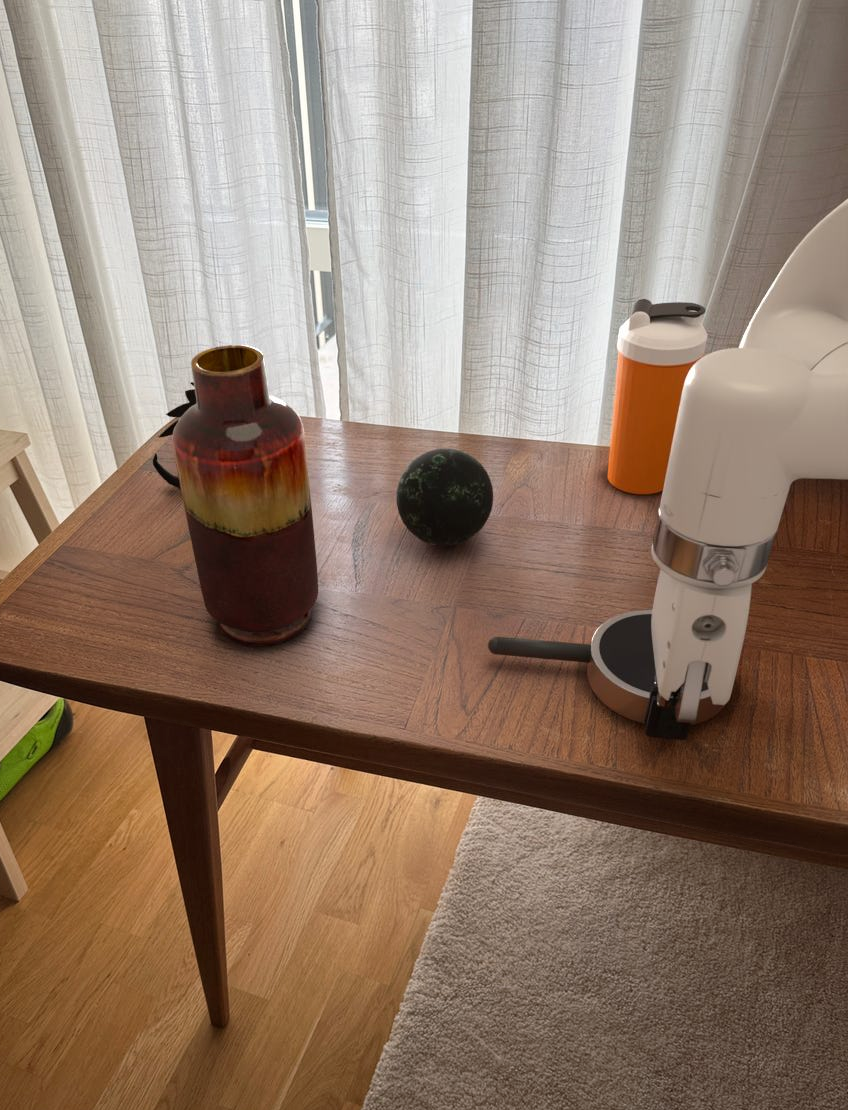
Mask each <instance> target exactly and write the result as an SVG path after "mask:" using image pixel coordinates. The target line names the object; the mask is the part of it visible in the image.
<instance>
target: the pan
mask: <svg viewBox="0 0 848 1110" xmlns="http://www.w3.org/2000/svg"><path fill="white" fill-rule="evenodd" d="M651 619H652V609H639V610H631V611H628V612H624V613H620V614H618V615H615V616H613V617H611V618H609V619H608V620H606V621H605V622H603V623H602V624H601V625H600V626H598V628H597V629H596V630H595V632H594V634H593V636H592V637H591V641H590V643H578V642H564V641H553V640H542V639H530V638H519V637H507V636H493V637H491V638H490V639H489V641H488V642H487V648H488V651H489V652H490V653H491V654H493V655H495V656H497V655H498V656H508V657H518V658H532V659H540V660H541V659H542V660H552V661H565V662H575V663H584V664H585V663H586V664H587V668H586V677H587V682H588V685H589V686H590V688H591V690H592V692H593V694H594V696H595V697H596V698H597V699H598V700H599V701H600V702H601V703H602V704H603V705H605V706H606V707H607V708H608V709H610V710H611V711H613V712H614V713H616V714H618V715H619V716H622V717H624V718H625V719H627V720H631V721H633V722H636V723H639V724H644V725H645V723H644V719H645V714H646V710H647V705H648V701H649V696H650V692H651V687H658V686H655V683H654V678H655V671H656V668H655V660H654V651H653V642H652V630H651ZM725 705H726V704H725ZM725 705H717V704H713V703H712V699H711V696H710V692H709V689H708V685H707V682H704V685H703V688H702V691H701V696H700V701H699V706H698V711H697V717H696V721H695V723H691V726H695V725H698V724H701V723H703V722H707V721H708V720H710V719H712V718H714V717H715V716H716V715H717V714H719V713H720V712H721V711H722V710H723V709H724V707H725Z"/></svg>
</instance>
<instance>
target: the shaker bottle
mask: <svg viewBox="0 0 848 1110" xmlns="http://www.w3.org/2000/svg"><path fill="white" fill-rule="evenodd" d="M705 313H706V307H704V306H703V305H700V304H698V303H695V302H688V301H687V302H684V301H683V302H682V301H678V302H676V301H674V302H671V301H670V302H661V303H659V302H658V303H652V301H651V300H650V299H648V298H639V299H637V300H636V301H635V302H634V304H633V305H632V309H631V312H630V317H629V318H628V319H627V320H626V321H625V322H624V323H623V324H622V325H621V326H620V327H619V330H618V336H617V343H616V350H617V365H616V376H615V385H614V386H615V387H614V399H613V410H612V421H611V431H610V432H611V434H610V444H609V446H610V447H609V456H608V467H607V480H608V482H609V483H610V484H611V486H613V487H614V488H616V489H617V490H620V491H622V492H624V493H628V494H632V495H652V494H653V495H654V494H657V493H660V492H663V488H664V483H665V478H666V473H667V468H668V463H669V457H670V452H671V447H672V442H673V437H674V432H675V426H676V421H677V416H678V411H679V406H680V401H681V395H682V391H683V387H684V383H685V380H686V377H687V375H688V373H689V371H690V369H691V368H692V366H693V365H694V364H695V363H696V362H697V361H698V360H700V359H701V358H702V357H704V356H705V353H706V346H707V342H708V338H709V337H708V332H707V331H706V329H705V326H704V325H703V324H702V322H700V318H701V316H702V315H704V314H705Z"/></svg>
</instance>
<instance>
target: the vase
mask: <svg viewBox="0 0 848 1110" xmlns="http://www.w3.org/2000/svg"><path fill="white" fill-rule="evenodd" d="M190 365H191V375H192V380H193V381H192V382H194V386H193V389H195V394H196V401H197V404H195V405H193V406H192V407H190V408H189V409H188V410H187V411H186V412H185V413H184V414H183V415H182V417H179V419H178V420H179V421H178V423H177V424H176V426H175V428H174V431H173V435H171V440H172V441H171V442H172V449H173V455H174V460H175V467H176V471H177V476H178V477H179V482H180V487H181V489H180V492H181V496H182V502H183V507H184V511H185V516H186V522H187V527H188V532H189V537H190V542H191V547H192V553H193V556H194V561H195V566H196V567H195V568H196V571H197V572H196V573H197V575H198V576H197V577H198V581H199V586H200V587H199V588H200V592H201V595H202V599H203V603H204V607H205V609H206V612H208V614H209V615H210V616H211V618H213V620H214V621H216V622H217V624H218V626H219V630H220V631H221V633H222V634H223V635H224V636H225V637H226V638H227V639H229V640H231V641H232V642H234V643H237V644H240V645H243V646H247V647H248V646H249V647H269V646H275V645H278V644H281V643H285V642H287V641H289V640H291V639H293V638H295V637H296V636H298V635H299V634H301V633H302V632H303V631H304V630H305V629H306V628H307V626H308V625H309V623H310V620H311V616H312V608H313V607H314V606H315V603H316V602H317V599H318V596H319V577H318V575H319V574H318V562H317V551H316V540H315V539H316V538H315V530H314V518H313V508H312V507H313V506H312V498H311V497H312V496H311V487H310V485H311V484H310V476H309V467H308V466H309V465H308V455H307V446H306V438H305V437H306V436H305V429H304V428H305V427H304V424H303V421H302V418H301V416H300V415H299V414H298V413H297V411H296V410H295V409H294V408H293V407H292V406H290V405H289V404H288V403H286V402H285V401H284V400H283V399H280V398H279V397H276V396H274V395H271V394H270V390H269V384H268V377H267V369H266V362H265V357H264V354H263V353H262V351H261V350H259V349H258V348H255V347H253V346H249V345H243V344H228V345H226V344H225V345H220V346H214V347H211V348H208V349H205V350H203V351H200V352H199V353H197V354H196V355H195V356H194V357H192V359H191V362H190Z"/></svg>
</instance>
